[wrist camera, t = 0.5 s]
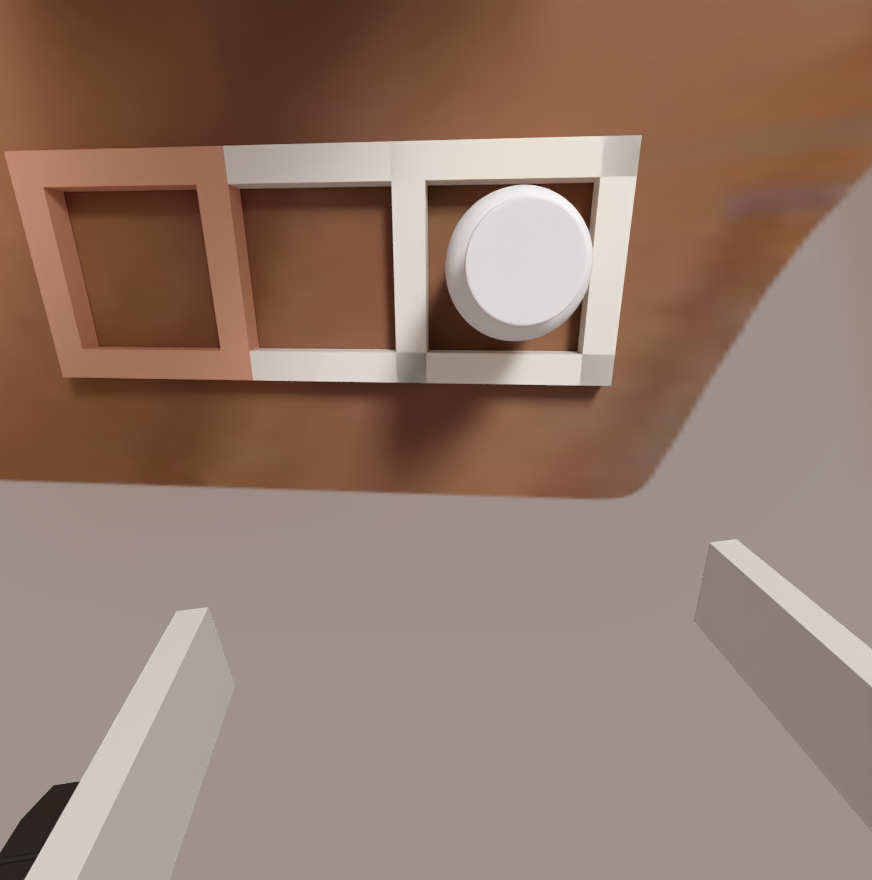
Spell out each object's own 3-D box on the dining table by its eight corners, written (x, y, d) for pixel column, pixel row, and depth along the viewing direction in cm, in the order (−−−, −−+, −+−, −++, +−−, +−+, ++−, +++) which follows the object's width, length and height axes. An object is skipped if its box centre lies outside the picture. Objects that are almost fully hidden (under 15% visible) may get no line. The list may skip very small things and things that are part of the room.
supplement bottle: (450, 220, 29) (432, 169, 16) (558, 210, 28) (622, 151, 16) (456, 329, 31) (444, 356, 19) (557, 322, 30) (612, 346, 18)
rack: (632, 143, 27) (641, 135, 25) (604, 381, 31) (610, 385, 30) (26, 157, 29) (3, 151, 28) (80, 373, 34) (62, 377, 32)
